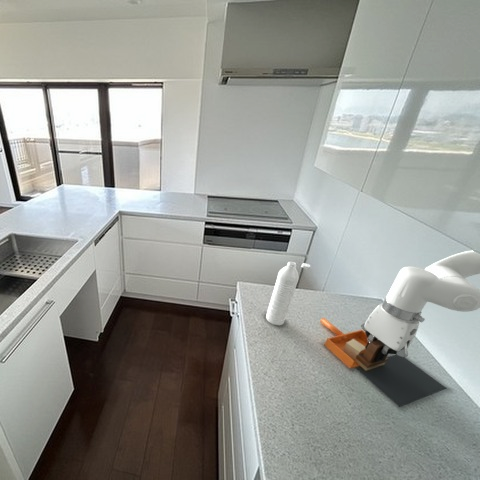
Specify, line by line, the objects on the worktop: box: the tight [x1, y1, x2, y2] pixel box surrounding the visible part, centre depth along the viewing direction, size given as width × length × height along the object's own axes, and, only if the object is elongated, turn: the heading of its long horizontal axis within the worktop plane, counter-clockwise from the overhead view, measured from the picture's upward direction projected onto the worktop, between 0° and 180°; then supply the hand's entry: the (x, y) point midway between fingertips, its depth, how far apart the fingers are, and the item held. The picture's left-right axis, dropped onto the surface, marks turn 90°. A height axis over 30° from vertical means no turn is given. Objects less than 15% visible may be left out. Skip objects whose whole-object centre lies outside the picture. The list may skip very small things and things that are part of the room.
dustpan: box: [320, 317, 368, 369], centre depth 88 cm, size 18×16×3 cm
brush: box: [355, 339, 388, 371], centre depth 78 cm, size 8×4×9 cm, turn 108°
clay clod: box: [343, 339, 366, 360], centre depth 82 cm, size 4×4×4 cm
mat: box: [354, 354, 447, 408], centre depth 76 cm, size 20×12×1 cm, turn 107°
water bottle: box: [265, 260, 311, 326], centre depth 91 cm, size 9×6×25 cm
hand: (373, 355), depth 79 cm, fingers closed on brush, 2 cm apart
